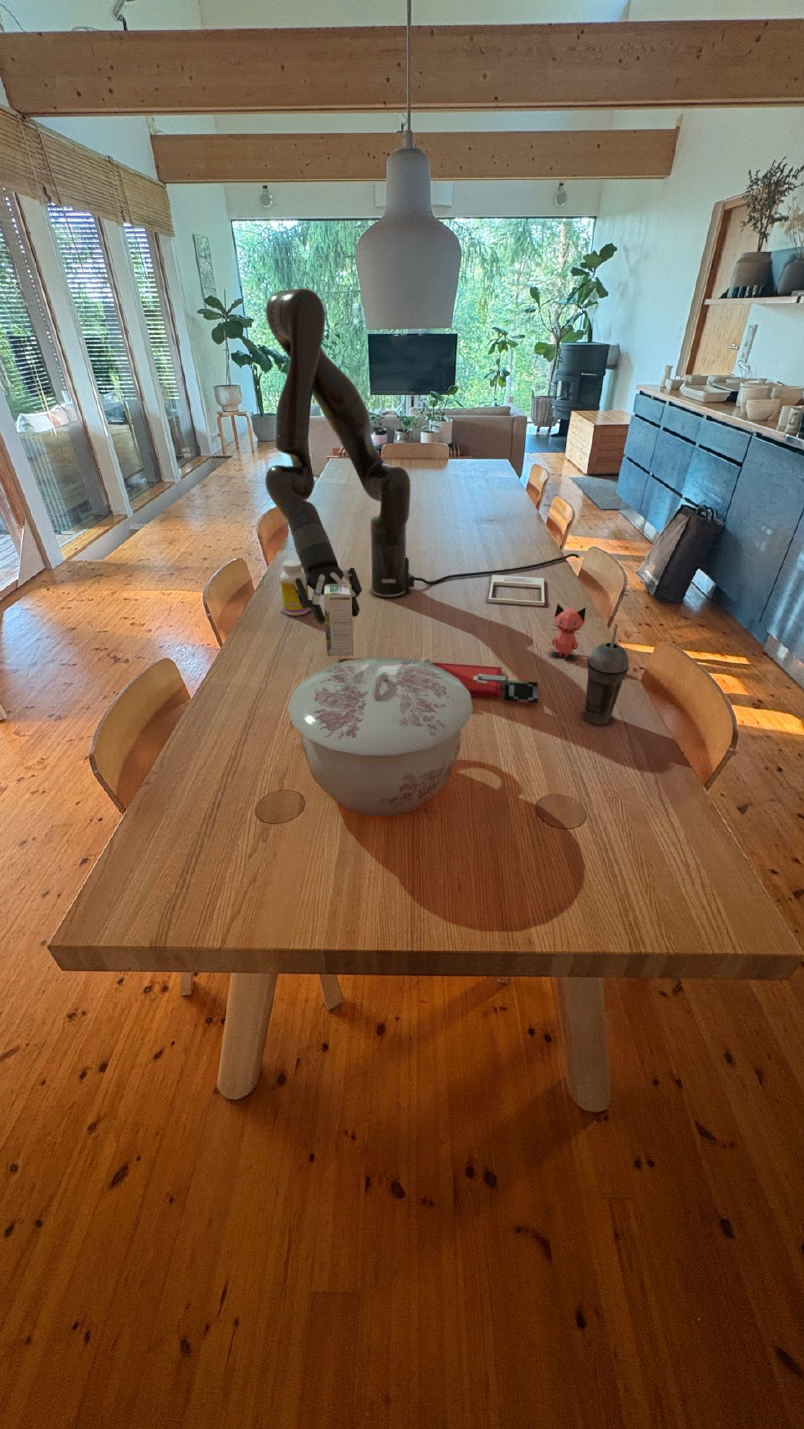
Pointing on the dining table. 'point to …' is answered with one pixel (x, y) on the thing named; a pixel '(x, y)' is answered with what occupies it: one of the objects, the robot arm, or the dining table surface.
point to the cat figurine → (567, 630)
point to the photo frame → (521, 583)
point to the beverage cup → (604, 680)
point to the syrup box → (338, 619)
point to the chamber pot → (381, 731)
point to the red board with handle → (491, 682)
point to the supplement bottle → (292, 588)
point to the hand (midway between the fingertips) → (339, 618)
